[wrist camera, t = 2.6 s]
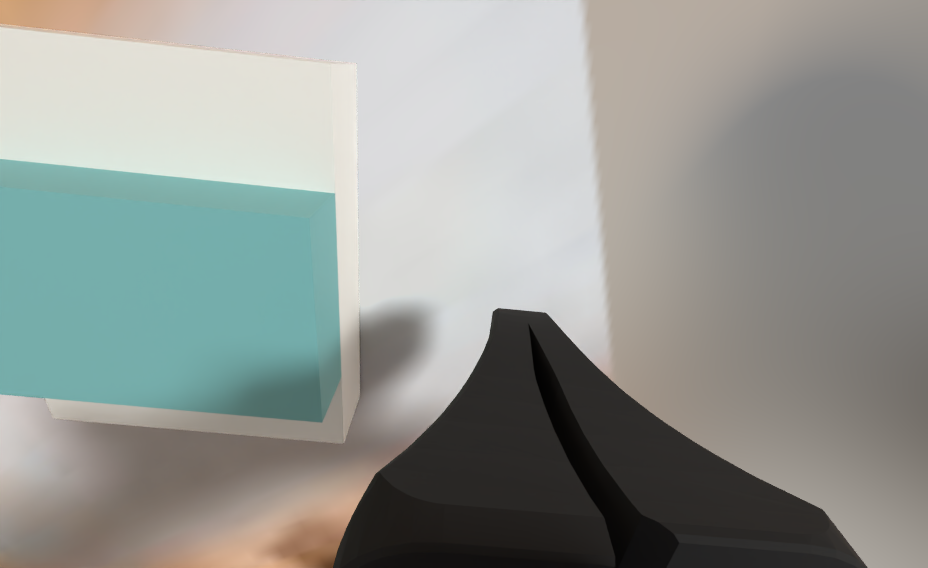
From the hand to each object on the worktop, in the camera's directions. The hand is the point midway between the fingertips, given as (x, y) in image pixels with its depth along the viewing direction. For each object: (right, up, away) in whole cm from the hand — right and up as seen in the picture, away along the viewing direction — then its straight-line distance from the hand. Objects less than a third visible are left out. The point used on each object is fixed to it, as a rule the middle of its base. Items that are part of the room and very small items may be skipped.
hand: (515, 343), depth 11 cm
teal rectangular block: (-9, +2, +1) cm, 10 cm away
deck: (-10, +3, +4) cm, 11 cm away
